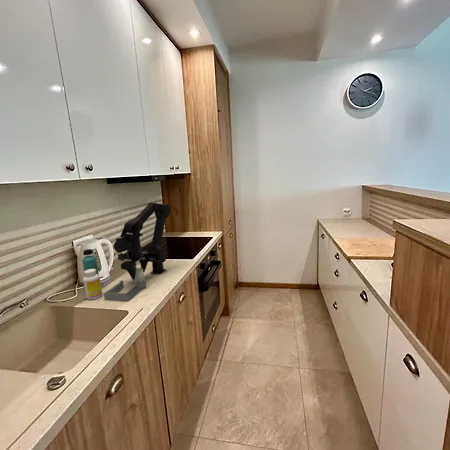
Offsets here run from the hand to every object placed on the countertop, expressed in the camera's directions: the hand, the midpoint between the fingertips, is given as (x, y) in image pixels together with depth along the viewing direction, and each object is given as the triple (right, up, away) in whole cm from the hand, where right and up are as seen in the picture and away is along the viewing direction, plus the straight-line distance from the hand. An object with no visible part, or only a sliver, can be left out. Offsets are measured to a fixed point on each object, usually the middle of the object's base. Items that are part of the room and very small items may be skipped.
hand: (138, 275), depth 133 cm
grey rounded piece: (0, -4, +1) cm, 4 cm away
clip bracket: (-3, -6, -11) cm, 13 cm away
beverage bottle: (-21, -6, -3) cm, 22 cm away
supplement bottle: (-16, -7, -12) cm, 22 cm away
